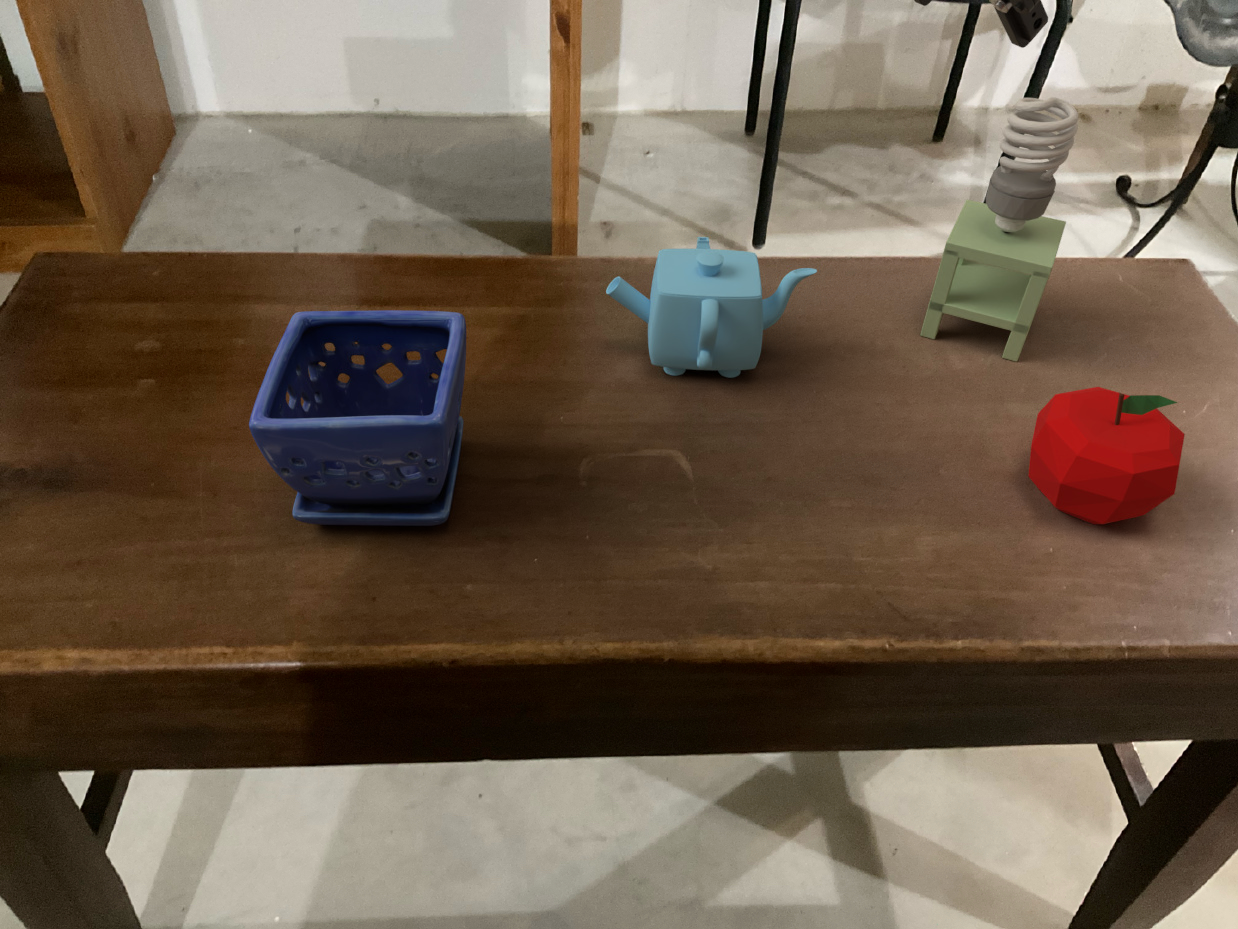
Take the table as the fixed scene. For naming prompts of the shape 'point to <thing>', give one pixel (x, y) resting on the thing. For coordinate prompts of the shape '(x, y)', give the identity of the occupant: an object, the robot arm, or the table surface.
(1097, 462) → the apple
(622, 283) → the teapot
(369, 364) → the flower pot
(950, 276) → the green side table
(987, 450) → the table surface
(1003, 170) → the light bulb
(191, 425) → the table surface
